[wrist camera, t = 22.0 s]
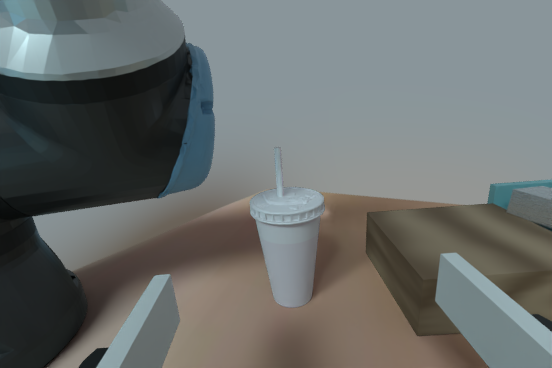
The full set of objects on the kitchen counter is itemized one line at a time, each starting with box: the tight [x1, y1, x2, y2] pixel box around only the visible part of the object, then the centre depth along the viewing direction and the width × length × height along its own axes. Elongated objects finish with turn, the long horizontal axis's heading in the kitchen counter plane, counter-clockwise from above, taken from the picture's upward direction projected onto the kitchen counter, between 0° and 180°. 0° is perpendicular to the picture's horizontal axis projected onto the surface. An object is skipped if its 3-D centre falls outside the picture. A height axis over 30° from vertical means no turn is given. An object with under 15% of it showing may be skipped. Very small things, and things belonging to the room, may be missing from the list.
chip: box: [507, 186, 552, 229], centre depth 27 cm, size 4×4×2 cm
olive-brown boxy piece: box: [366, 203, 552, 336], centre depth 26 cm, size 14×12×5 cm
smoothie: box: [250, 147, 325, 307], centre depth 25 cm, size 6×6×14 cm
